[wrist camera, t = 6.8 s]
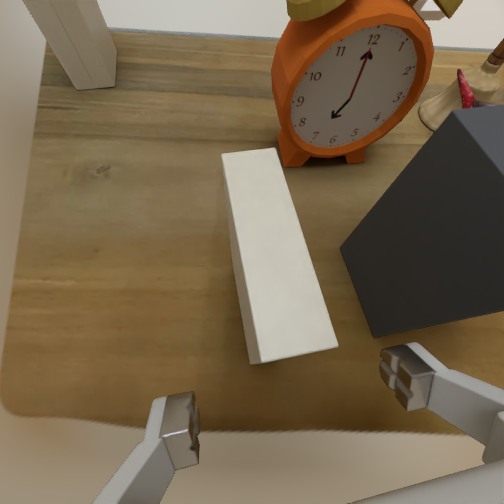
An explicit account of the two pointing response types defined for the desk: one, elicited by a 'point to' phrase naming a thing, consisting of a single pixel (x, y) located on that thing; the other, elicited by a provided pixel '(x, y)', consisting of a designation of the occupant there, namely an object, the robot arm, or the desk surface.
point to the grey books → (436, 231)
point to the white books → (78, 40)
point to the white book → (272, 262)
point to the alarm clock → (348, 74)
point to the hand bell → (479, 81)
